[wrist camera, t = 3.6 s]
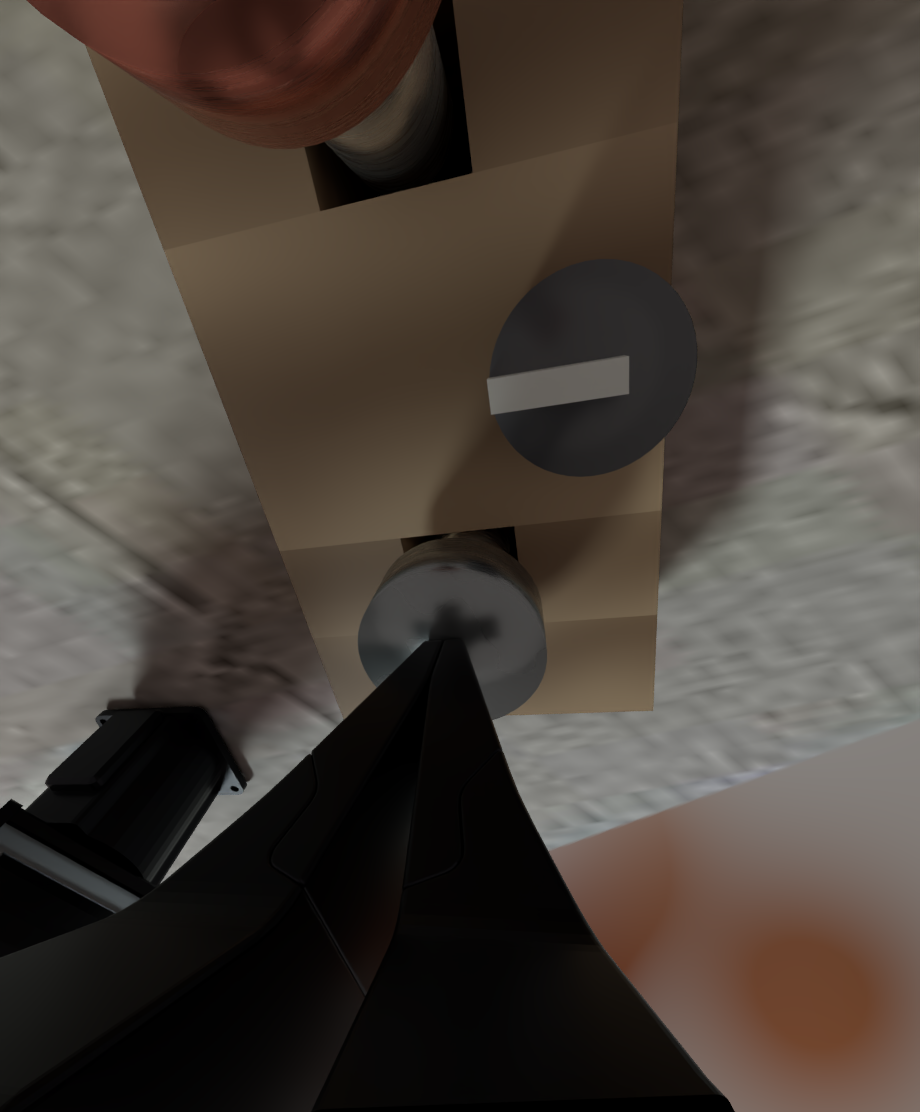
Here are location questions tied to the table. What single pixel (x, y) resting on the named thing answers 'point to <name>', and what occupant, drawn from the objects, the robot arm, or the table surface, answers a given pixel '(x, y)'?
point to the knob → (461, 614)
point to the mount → (433, 325)
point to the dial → (592, 367)
